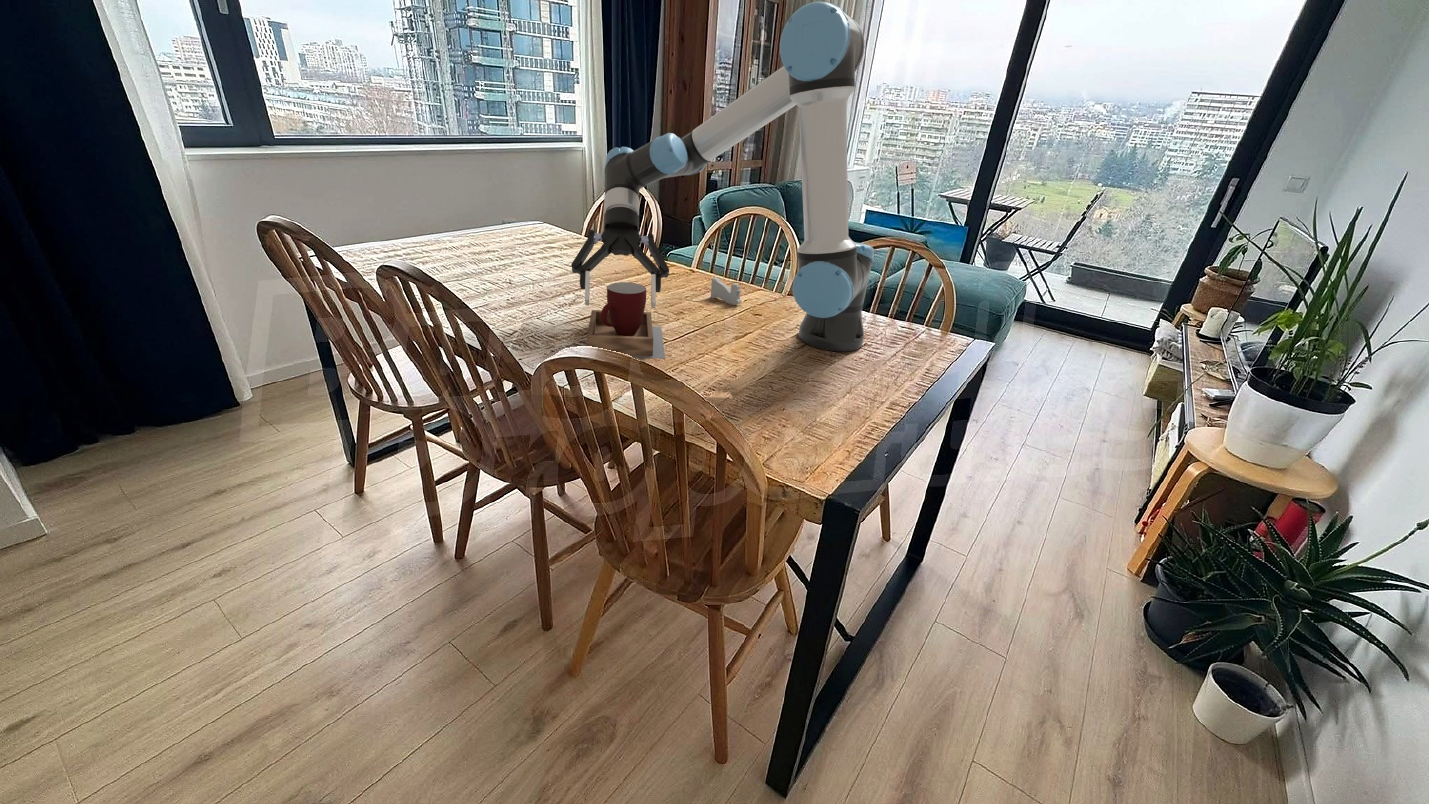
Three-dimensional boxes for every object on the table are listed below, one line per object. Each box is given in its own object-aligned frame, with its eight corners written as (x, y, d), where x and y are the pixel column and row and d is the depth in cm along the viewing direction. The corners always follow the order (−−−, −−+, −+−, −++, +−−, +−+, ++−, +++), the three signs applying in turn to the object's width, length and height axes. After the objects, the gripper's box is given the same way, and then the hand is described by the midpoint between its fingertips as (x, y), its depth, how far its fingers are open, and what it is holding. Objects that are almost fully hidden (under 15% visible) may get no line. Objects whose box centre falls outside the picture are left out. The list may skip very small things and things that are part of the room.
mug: (620, 346, 115) (621, 299, 111) (590, 336, 119) (590, 289, 114) (652, 333, 123) (654, 288, 119) (623, 323, 127) (624, 279, 122)
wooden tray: (650, 327, 130) (650, 312, 128) (652, 356, 116) (653, 338, 114) (592, 325, 128) (591, 309, 126) (587, 354, 114) (586, 336, 112)
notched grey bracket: (713, 297, 158) (742, 306, 152) (710, 298, 157) (738, 307, 152) (715, 276, 155) (744, 285, 150) (712, 277, 154) (740, 286, 149)
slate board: (661, 330, 131) (661, 326, 131) (665, 362, 116) (665, 358, 115) (590, 328, 129) (590, 324, 128) (584, 360, 113) (584, 356, 113)
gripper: (677, 228, 130) (678, 313, 124) (564, 221, 126) (560, 309, 120) (680, 208, 123) (682, 298, 117) (561, 200, 119) (556, 292, 113)
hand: (620, 304), depth 118 cm, fingers open, 13 cm apart
